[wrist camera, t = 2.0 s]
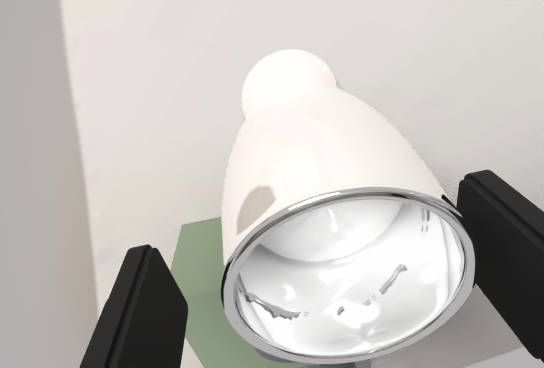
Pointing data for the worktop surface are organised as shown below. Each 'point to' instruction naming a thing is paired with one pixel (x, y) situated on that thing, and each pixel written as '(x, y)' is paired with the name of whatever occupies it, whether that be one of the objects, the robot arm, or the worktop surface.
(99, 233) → the worktop surface
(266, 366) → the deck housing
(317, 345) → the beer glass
